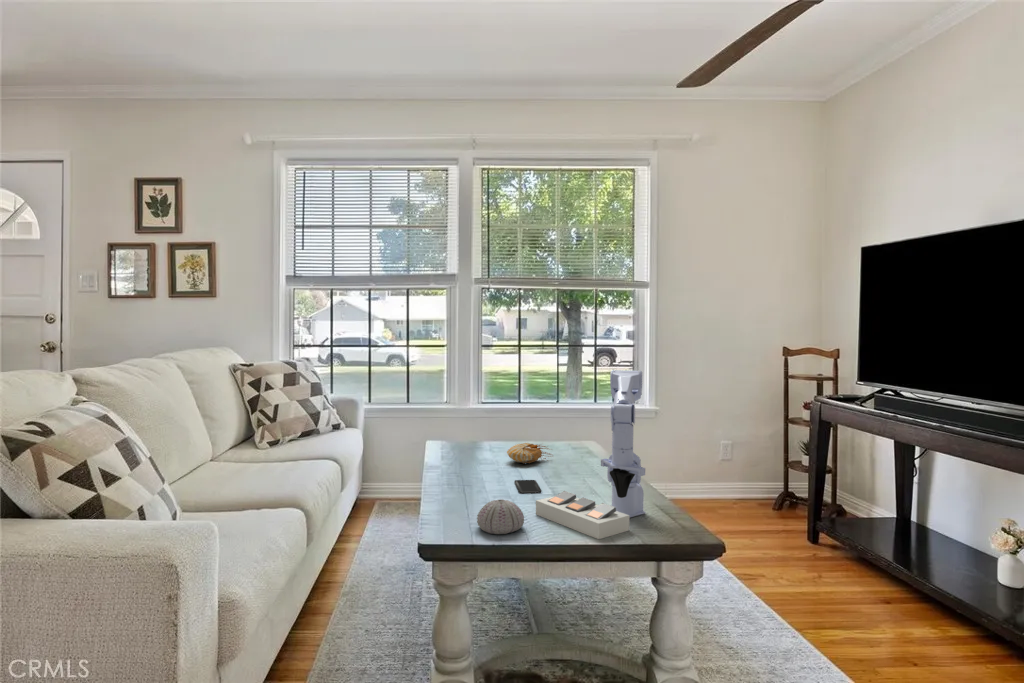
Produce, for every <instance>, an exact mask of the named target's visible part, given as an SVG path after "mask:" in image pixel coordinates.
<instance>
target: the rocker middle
mask: <svg viewBox="0 0 1024 683" xmlns="http://www.w3.org/2000/svg"><path fill="white" fill-rule="evenodd" d="M596 504H597V503H596V501H595V500H591V499H590V498H589V499H588V498H586V497H581V498H579V500H577V501H575V502H573V503H571V504H569V505H567V506H566V508H567V509H570V510H572V511H575V512H581V511H585V510H588V509H590V508H592V507H594V506H595V505H596Z"/></svg>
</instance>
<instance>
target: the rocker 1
mask: <svg viewBox="0 0 1024 683" xmlns="http://www.w3.org/2000/svg"><path fill="white" fill-rule="evenodd" d="M552 497H553V498H551V499H549V500H547V501H548V502H550V503H553V504H556V505H563V504H567V503H569V502H571V501H573V500H574V499H576V498H577V495H576V494H575V493H572V492H568V491H565V490H564V491H561V492H560V493H558V494H556V495H554V496H552Z"/></svg>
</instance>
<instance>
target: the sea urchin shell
mask: <svg viewBox="0 0 1024 683" xmlns="http://www.w3.org/2000/svg"><path fill="white" fill-rule="evenodd" d="M476 523H477V526H478V527H479V529H481V530H482V531H484V532H485V533H487V534H491V535H507V534H509V533H515V532H516V531H518V530H520V529H521V528H522V527H523V526H524V524H525V515H524V512H523V511H522V510H521V508H520V506H518V505H517V504H516V503H514V501H511V500H506V499H503V498H502V499H501V498H500V499H495V500H491V501H489V502H487V503H486V504H485V505H483V506H482V507H481V508H480V510H479V512H478V513H477V516H476Z"/></svg>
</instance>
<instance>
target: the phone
mask: <svg viewBox="0 0 1024 683" xmlns="http://www.w3.org/2000/svg"><path fill="white" fill-rule="evenodd" d="M514 485H515V487H516V490H517V492H518V494H542V488H541V487H540V485H539V484H538V482H537V480H536V479H518V480H516V479H515V480H514Z"/></svg>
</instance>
